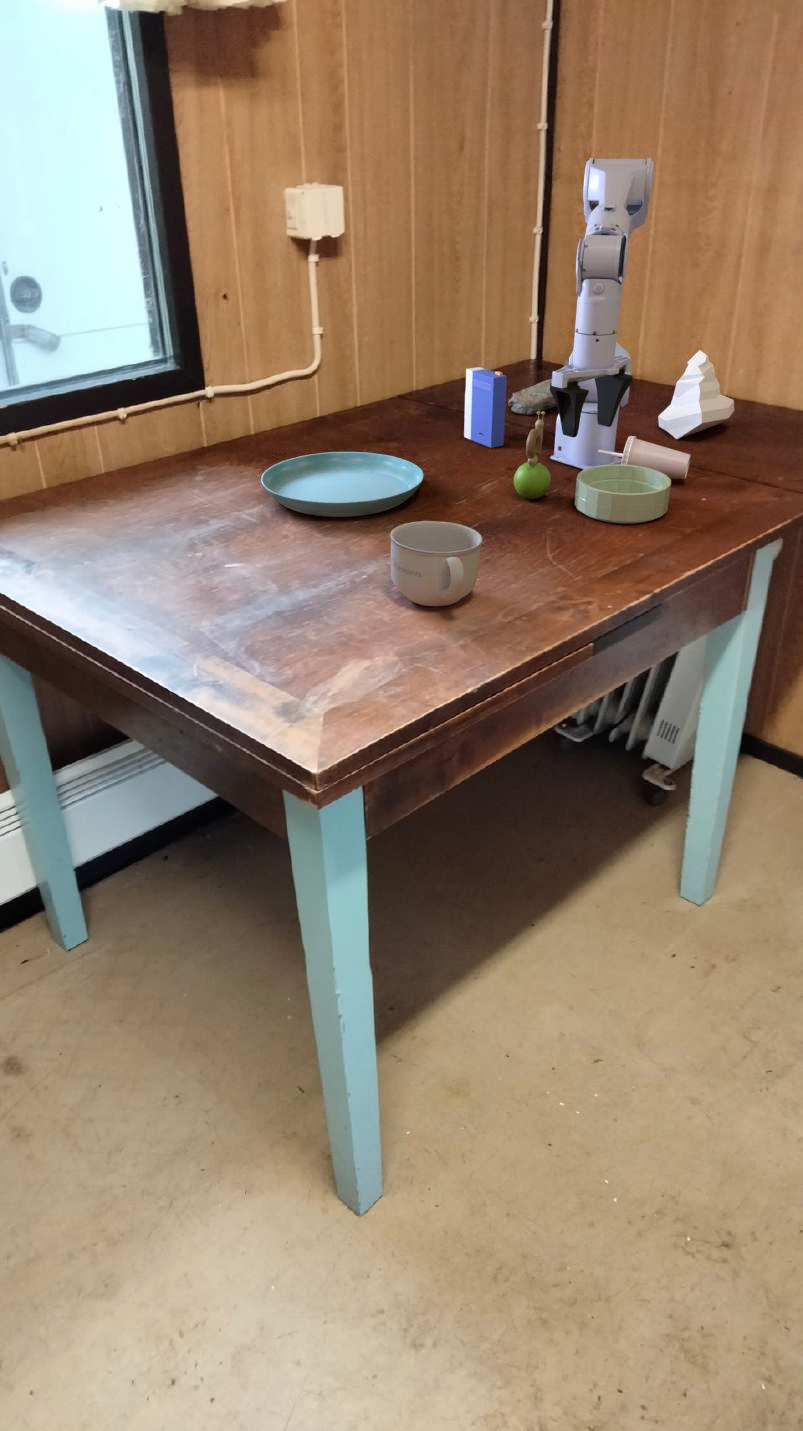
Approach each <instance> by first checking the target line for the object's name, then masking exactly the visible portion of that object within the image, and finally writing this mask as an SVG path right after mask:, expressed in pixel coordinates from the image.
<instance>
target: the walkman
mask: <svg viewBox="0 0 803 1431" xmlns="http://www.w3.org/2000/svg"><path fill="white" fill-rule="evenodd" d="M507 378H508V376H507V375H505V374H503V372H502V371H499V370H497V371H493V370H490V369H487V368H484V367H481V366H476V367H468V368H465V391H464V420H463V421H464V423H463V424H464V425H463V426H464V427H463V438H466V439H468V440H470V441H473V442H475V443H478V444H480V445H483V446H486V447H488V448H490V449H492V448H497V447H501V446H504V445H505V425H506V424H505V422H506V421H505V420H506V402H507V401H506V399H507V381H508V380H507Z"/></svg>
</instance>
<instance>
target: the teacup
mask: <svg viewBox="0 0 803 1431" xmlns="http://www.w3.org/2000/svg"><path fill="white" fill-rule="evenodd" d="M389 539H390V577H391V580H392V583H393V585H394V587H395V588H396V589H397V590H398V591H399V592H400V593H401V594H403V596H404V597H405V598H406V599H408V600H409V601H410V602H412V603H415V604H418V605H422V606H427V607H444V606H451V605H453V604H456V603H457V602H459V601H460V600H461V599H462V598H464V597H466V596H467V595H469V594H470V593H471V592H472V591H473V589H474V588H475V586H476V583H477V580H478V576H479V569H480V560H481V551H482V550H481V549H482V545H483V536H482V535H481V533H480V532H479V531H478V530H475V529H474V528H471V527H469V526H467V525H463V524H460V523H455V522H449V521H438V520H437V521H436V520H421V521H412V522H407V523H403V524H400V525H398V526H396V527H395V528H393V529H392V530H391V532H390V534H389Z"/></svg>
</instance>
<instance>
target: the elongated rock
mask: <svg viewBox="0 0 803 1431" xmlns="http://www.w3.org/2000/svg"><path fill="white" fill-rule="evenodd" d="M567 365H569V358H568V359H566V360H565V361H564V363H563V364H562V368H563V367H565V366H567ZM550 383H552V378H550V379H546V380H543V381H541V382H538V383H536V384H534V385H531V386H529V387H526V388H523V389H521V390H520V391H516V392H512V396H511V397H510V398H509V399H508V403H507V406H508V407H511V408H510V410H511V411H512V412H514V413H516V414H519V415H524V416H525V415H526V416H531V415H532V416H533V415H536V414H537V412H538V411H540V412H543V411H546V410H549V409H552V408H557V405H556V402H555V400H554V398H553V396H552V394H551V392H550Z"/></svg>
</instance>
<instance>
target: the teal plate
mask: <svg viewBox="0 0 803 1431" xmlns="http://www.w3.org/2000/svg"><path fill="white" fill-rule="evenodd" d="M423 480H424V472H423V470H422V469H421V467H419V466H418V465H416V463H414V462H411V461H409V460H407V459H403V458H401V457H397V456H393V455H389V454H382V453H373V452H362V451H331V452H319V453H313V454H305V455H301V456H297V457H293V458H288V459H285V460H282V461H279V462H278V463H275V464H273V465H271V466H270V467H269V468H267V469H266V470H264V471H263V473H262V474H261V477H260V482H261V484H262V486H263V488H264V490H265V491H266V492H267V494H268V495H269V496H270V497H271V498H272V499H274V501H276V502H277V503H278V504H280V505H282V506H284V507H285V508H287V509H290V510H291V511H294V512H297V513H301V514H304V515H310V516H317V517H328V518H329V517H330V518H351V517H361V516H367V515H373V514H377V513H382V512H386V511H388V510H390V509H393V508H396V507H397V506H399V505H401V504H402V503H404V502H406V501H407V500H408V499H409V498H411V497H412V496H413V495H414V494H415V493H416V492H417V490H418V489H419V488H420V486H421V484H422V482H423Z"/></svg>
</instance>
